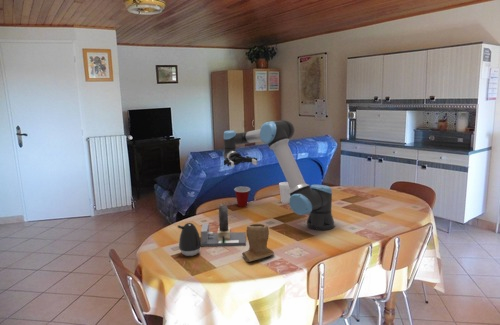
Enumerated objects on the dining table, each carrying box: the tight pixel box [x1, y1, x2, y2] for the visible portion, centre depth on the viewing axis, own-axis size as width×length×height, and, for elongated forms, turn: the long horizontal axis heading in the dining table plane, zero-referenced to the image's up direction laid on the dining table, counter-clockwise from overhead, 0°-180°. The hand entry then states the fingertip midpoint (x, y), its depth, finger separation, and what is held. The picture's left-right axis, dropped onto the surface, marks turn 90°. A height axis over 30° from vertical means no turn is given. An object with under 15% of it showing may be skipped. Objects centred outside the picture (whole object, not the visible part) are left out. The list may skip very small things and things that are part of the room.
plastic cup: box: [233, 186, 251, 208], centre depth 249 cm, size 11×11×12 cm
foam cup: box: [278, 181, 291, 204], centre depth 256 cm, size 10×9×13 cm
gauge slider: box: [217, 205, 231, 243], centre depth 188 cm, size 6×12×16 cm, turn 1°
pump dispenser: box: [177, 222, 201, 257], centre depth 175 cm, size 10×10×15 cm
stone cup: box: [241, 223, 275, 263], centre depth 171 cm, size 15×12×15 cm
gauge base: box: [200, 222, 247, 248], centre depth 191 cm, size 22×14×8 cm, turn 91°
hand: (244, 163), depth 210 cm, fingers open, 13 cm apart
